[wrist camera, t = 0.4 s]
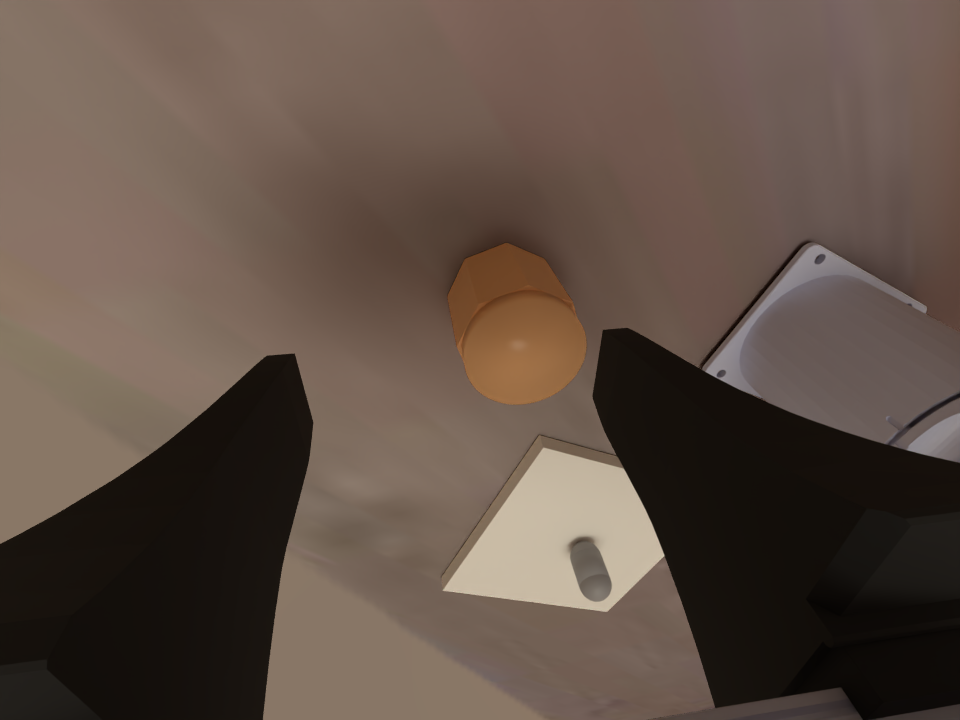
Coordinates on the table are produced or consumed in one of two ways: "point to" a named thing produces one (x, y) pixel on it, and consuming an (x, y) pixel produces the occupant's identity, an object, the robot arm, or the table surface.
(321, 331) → the table surface
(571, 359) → the cap
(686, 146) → the table surface
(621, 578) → the post board
